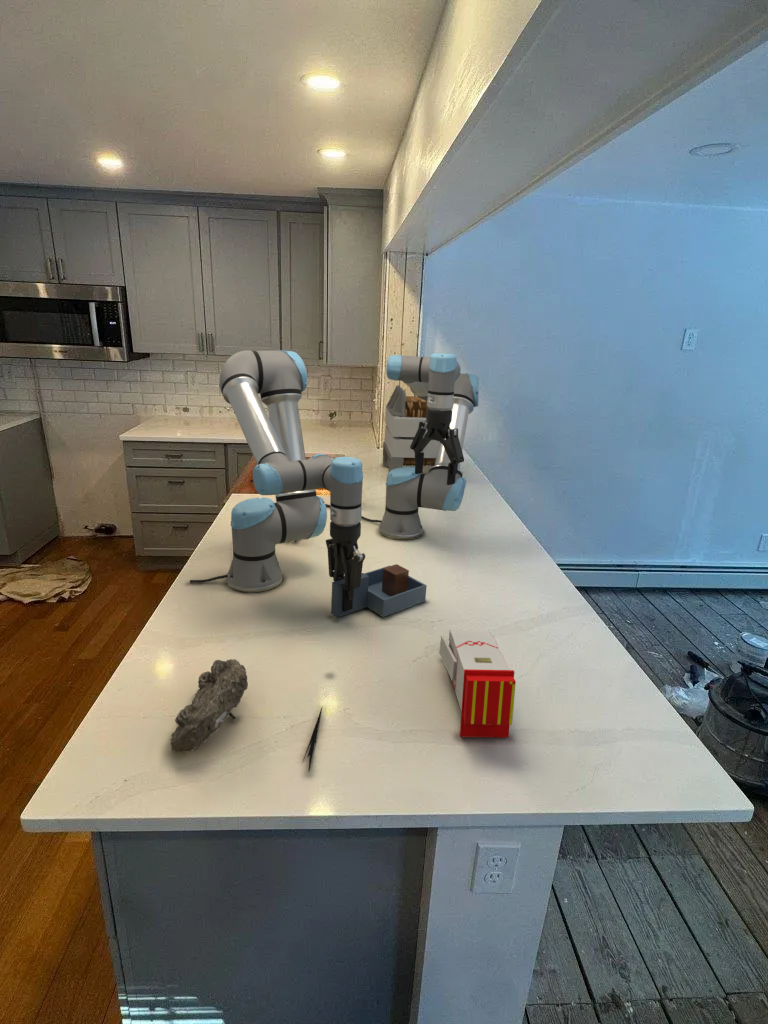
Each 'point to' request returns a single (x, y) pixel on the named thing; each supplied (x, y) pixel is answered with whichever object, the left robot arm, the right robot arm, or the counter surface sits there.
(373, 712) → the counter surface
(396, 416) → the grey slatted box
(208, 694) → the fossil
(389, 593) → the block
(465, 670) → the toy
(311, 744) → the feather
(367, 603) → the tray
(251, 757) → the counter surface
